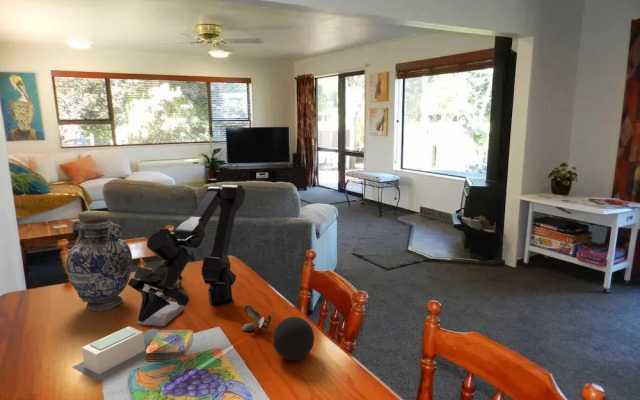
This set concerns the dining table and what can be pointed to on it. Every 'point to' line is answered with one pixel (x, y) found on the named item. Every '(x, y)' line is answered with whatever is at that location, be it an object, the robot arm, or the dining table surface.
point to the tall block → (113, 349)
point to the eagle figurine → (256, 320)
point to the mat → (147, 340)
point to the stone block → (163, 315)
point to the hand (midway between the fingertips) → (140, 321)
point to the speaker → (293, 338)
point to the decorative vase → (99, 263)
